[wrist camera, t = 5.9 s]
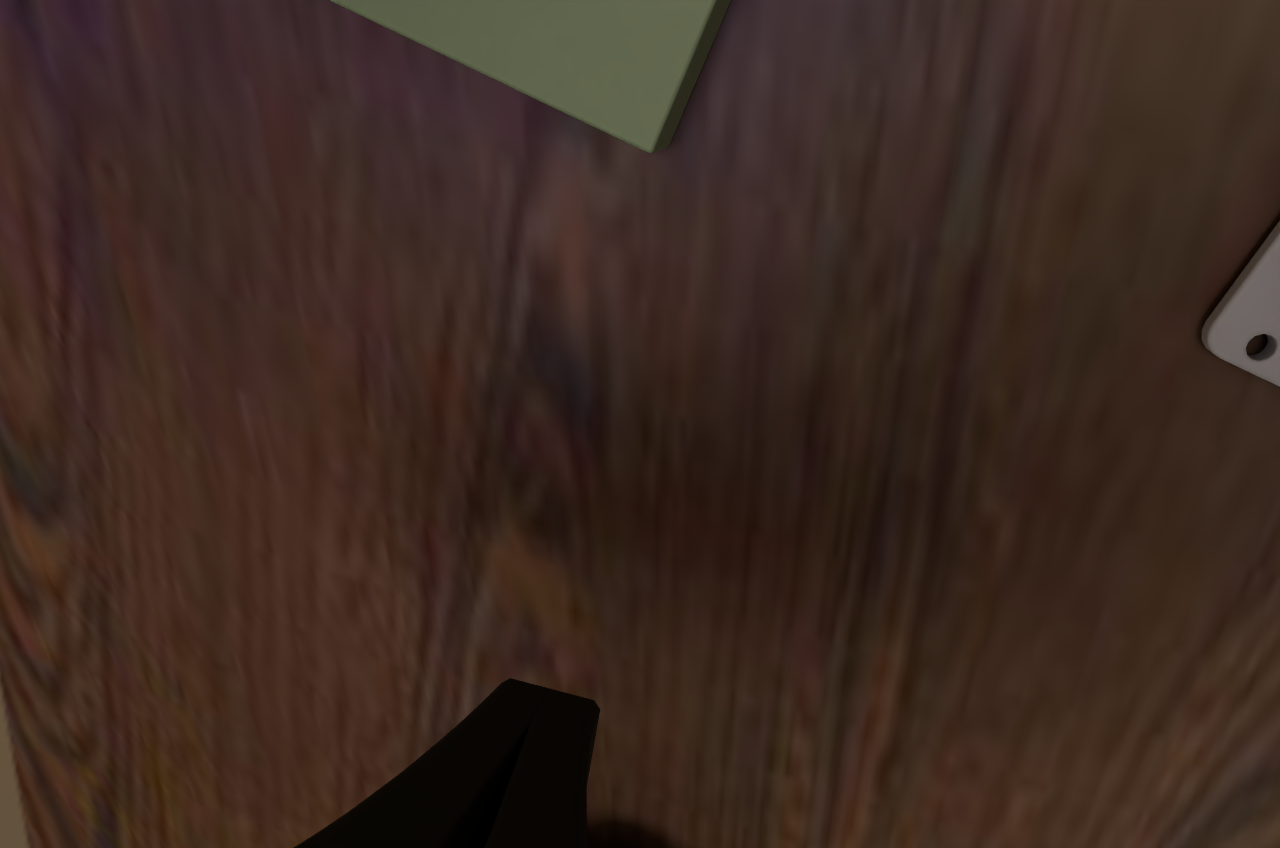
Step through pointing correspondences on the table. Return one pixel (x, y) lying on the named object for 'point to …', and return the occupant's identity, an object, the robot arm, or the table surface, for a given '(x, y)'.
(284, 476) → the table surface
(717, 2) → the scale
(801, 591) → the table surface
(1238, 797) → the table surface
